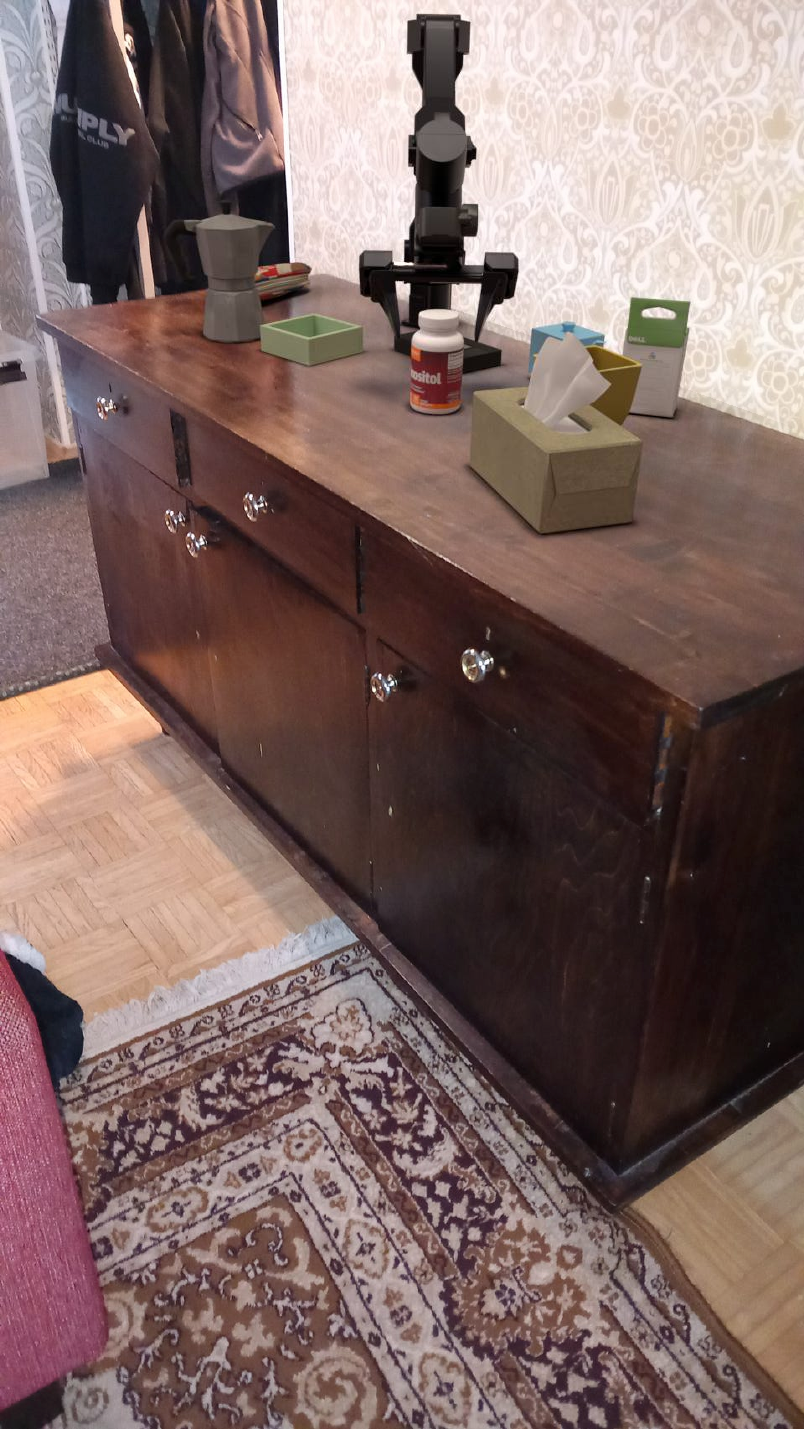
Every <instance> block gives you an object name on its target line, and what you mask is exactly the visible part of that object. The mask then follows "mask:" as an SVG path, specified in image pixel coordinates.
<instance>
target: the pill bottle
mask: <svg viewBox="0 0 804 1429" xmlns="http://www.w3.org/2000/svg"><path fill="white" fill-rule="evenodd" d="M418 324H419V327H420V329H419V330H416V331H417V332H416V333H415V334H414V335H413V337H412V344H411V355H410V388H409V400H410V402H409V403H410V404H409V405H410V406H411V408H412V410H414V411H416V412H419V413H422V414H428V415H429V414H430V415H448V414H451V413H455V412H456V411H457V410H459V409H460V407H461V405H462V404H461V403H462V388H463V373H462V370H463V350H464V339H463V337H464V336H463V335H462V334H461V333H460V332H459V331H458V330H457V328H458V327H459V324H460V314H459V312H458V311H455V310H452V309H451V310H445V309H431V310H425V311H422V312H420V313H419V320H418ZM419 327H418V328H419Z"/></svg>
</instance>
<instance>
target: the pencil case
mask: <svg viewBox="0 0 804 1429" xmlns="http://www.w3.org/2000/svg"><path fill="white" fill-rule="evenodd" d="M312 270H313V269H312V266H310V265H308V264H307V263H305V262H304V263H303V262H299V261H297V262H296V261H295V262H286V263H285V262H284V263H277V264H271V265H265V266H264V265H263V266H258V272H257V273H256V274H255V287H256V288H257V289H258V293H259V297H260V302H261V303H262V302H265V301H268V300H271V299H275V298H279V297H282V296H284V295H287V294H290V293H293V292H296V291H298V290H301V289H305V288H308V287H310V286H311V280H310V279H309V276H310V274H311V272H312Z"/></svg>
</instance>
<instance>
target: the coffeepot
mask: <svg viewBox="0 0 804 1429" xmlns="http://www.w3.org/2000/svg"><path fill="white" fill-rule="evenodd" d="M219 204H220V210H221V214H218V215H215V216H211V217H208V218H204V219H201V220H198V219H174V220H172V221H171V222H170V223H169V225H168V226H167V227H166V229H165V230H164V233H163V240H164V243H165V245H166V248H167V249H168V252H169V254H170V256H171V259H172V261H173V264H174V265H175V268H176V271H177V273H178V276H179V277H180V279H181V281H182V282H183V283H186V284H196V283H197V280H198V275H190V274H189V273H188V269H187V263H186V260H185V259H184V257H183V255H182V251H181V246H180V243H179V241H178V240H177V237H178V236H179V235H184V236H189V237H190V236H191V237H195V239H196V244H197V248H198V253H199V257H200V261H201V262H200V263H201V266H202V271H203V274H204V275H205V276H207V285H208V286H207V289H206V290H205V291H206V292H205V302H204V303H205V304H204V316H203V317H204V318H203V328H202V329H203V330H202V335H203V336H204V337H205V338H206V339H208V340H210V341H212V342H218V343H226V344H227V343H228V344H229V343H230V344H238V343H239V344H241V343H249V342H254V341H258V340H261V334H260V325H264V324H266V320H265V316H264V311H263V307H262V301H261V302H260V297H259V293H258V289H257V288H256V287H255V274H256V273H257V272H258V267H259V262H260V261H259V260H260V254H261V252H262V250H263V247H264V245H265V244H266V242H267V240H268V237H269V236H270V234H271V232H272V231H273V230H275V229H276V226H275V225H274V223H272V222H268V221H263V220H258V219H252V218H247V217H244V216H239V215H235V214H232V204H233V201H232V200H229V199H222V200H220V201H219Z"/></svg>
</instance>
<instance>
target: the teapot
mask: <svg viewBox="0 0 804 1429" xmlns="http://www.w3.org/2000/svg"><path fill="white" fill-rule="evenodd" d="M568 331H569V332H570V333H572V334H573V335H575V336H576V337H577V339H578V340H579V341H580V342H581V343H582V344H583V345H584V346H592V345H597V346H601V347H603V348H605V347H604V345H605V344H606V343H607V342H606V341H605V337H606V336H605V334H604V333H601V332H598V331H595V330H592V329H589V328H586V327H583V326H580V325H577V324H576V323H575V322H574V321H562V322H561V323H555V324H550V325H549V324H548V325H542V326H538V327H532V328H531V331H530V333H531V334H530V345H529V354H528V368H527V371H528V372H529V373H532V370H533V366H534V361H533V355H534V354H538V353H539V352H540V350H541V348H542V346H543V344H544V342H545V341H546V339H547V338H548V337H553V338H555V339H558V340H561V341H563V339H564V337H565V334H566V332H568Z"/></svg>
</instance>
